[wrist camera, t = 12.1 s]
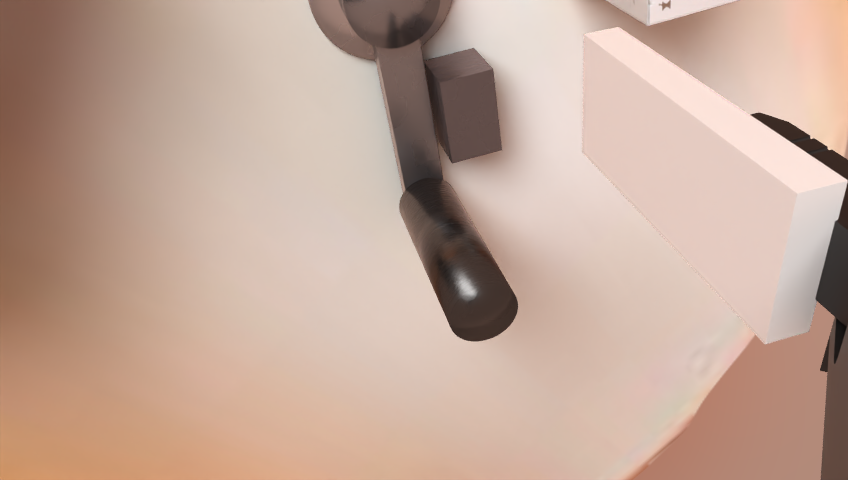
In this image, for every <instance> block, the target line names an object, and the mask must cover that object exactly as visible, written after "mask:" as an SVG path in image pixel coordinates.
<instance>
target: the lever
mask: <svg viewBox="0 0 848 480" xmlns="http://www.w3.org/2000/svg"><path fill="white" fill-rule="evenodd" d="M338 1H339V4H340V7H341V9H342V11H343V13H344V15H345V17H346V19H347V20H348V22H349V24H350V26H351V27H352V29H353V30H354V31H355V33H356V34H357V35H358V36H359V37H360V38H361V39H363V40H364V41H365V42H367V43H369V44H371V45H373V50H374V55H375V60H376V65H377V70H378V74H379V79H380V84H381V89H382V94H383V99H384V103H385V108H386V113H387V118H388V123H389V128H390V132H391V137H392V142H393V147H394V152H395V157H396V161H397V166H398V171H399V176H400V181H401V186H402V190H403V195H402V197H401V200H400V204H399V209H400V213H401V216H402V218H403V220H404V223H405V225H406V227H407V230H408V232H409V234H410V236H411V239H412V241H413V243H414V245H415V248H416V250H417V252H418V254H419V257H420V259H421V261H422V263H423V266H424V268H425V270H426V273H427V275H428V277H429V279H430V282H431V284H432V286H433V288H434V291H435V293H436V295H437V297H438V300H439V302H440V304H441V307H442V309H443V311H444V313H445V316H446V318H447V320H448V322H449V325H450V327H451V329H452V331H453V332H454V333H455V334H456V335H457V336H458V337H460V338H462V339H464V340H467V341H483V340H487V339H490V338H493V337H495V336H497V335H499V334H500V333H502V332H503V331H504V330H506V329H507V328H508V327H509V326H510V324H511V323H512V322H513V320H514V318H515V316H516V314H517V310H518V302H517V298H516V296H515V294H514V293H513V291H512V289H511V288H510V286H509V284H508V282H507V281H506V279H505V277H504V276H503V274H502V272H501V270H500V269H499V267H498V265H497V264H496V262H495V260H494V258H493V257H492V255H491V253H490V252H489V250H488V248H487V246H486V245H485V243H484V241H483V239H482V238H481V236H480V234H479V233H478V231H477V229H476V227H475V226H474V224H473V222H472V221H471V219H470V217H469V215H468V214H467V212H466V210H465V209H464V207H463V205H462V203H461V202H460V200H459V198H458V197H457V195H456V193H455V191H454V190H453V188H452V187H451V185H450V184H449V183H447V182H446V181H444V180H443V176H442V170H441V164H440V158H439V152H438V146H437V140H436V138H437V139H438V141H439V143H440V144H441V146H442V147H443V149H444V151H445V152H446V154H447V156H448V157H449V159H450V160H451V162H452V163H455V162H459V161H463V160H466V159H470V158H474V157H477V156H481V155H485V154H488V153H492V152H496V151H499V150H502V147H501V138H500V129H499V120H498V111H497V101H496V92H495V83H494V74H493V69H492V67H491V66H490V65H489V64H488V63H487V62H486V61H485V60H484V59H483V58H482V57H481V55H480V54H479V53H478V52H477V51H476V50H475V49H474V48H472V49H468V50H464V51H460V52H456V53H452V54H448V55H444V56H441V57H437V58H433V59H429V60H425V61H424V62H423V56H422V50H421V44H420V38H421V37H422V36H423V35H424V34H425V33H426V32H427V31H428V30H429V28H430V27H431V26H432V24H433V22H434V21H435V19H436V16H437V14H438V10H439V6H440V0H338ZM424 65H425V68H424ZM425 71H426V74H425ZM426 77H427V80H426ZM427 83H428V86H427ZM428 89H429V92H428ZM429 95H430V98H429ZM430 101H431V104H430ZM431 107H432V110H431ZM432 113H433V116H432ZM433 119H434V122H433ZM434 126H435V128H434ZM435 132H436V134H435Z"/></svg>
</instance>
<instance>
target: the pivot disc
mask: <svg viewBox="0 0 848 480" xmlns="http://www.w3.org/2000/svg"><path fill="white" fill-rule="evenodd" d="M308 1H309V5H310V8H311V11H312V13H313V16H314V18H315V20H316V22H317V24H318V25H319V27H320V29H321V30H322V31H323V33H324V34H325V35H326V37H327V38H328V39H329V40H330V41H332V42H333V43H334V44H335V45H336V46H338V47H339V48H340V49H342V50H344V51H346V52H347V53H349V54H352V55H354V56H357V57H361V58H365V59H372V60H375V55H374V50H373V45H371V44H369V43H367V42H365V41H364V40H363V39H361V38H360V37H359V36H358V35H357V34H356V33H355V31H354V30H353V29H352V27H351V26H350V24H349V22H348V20H347V19H346V17H345V15H344V13H343V11H342V9H341V7H340V4H339V1H338V0H308ZM451 3H452V0H440V6H439V10H438V14H437V16H436V19H435V21H434V22H433V24H432V26H431V27H430V28H429V30H428V31H427V32H426V33H425V34H424V35H423V36H422V37H421V38H420V44H421V46H422V45H423V44H424V43H426V42H427V41H428V40H429V39H430V38H431V37H432V36H433V35H434V34H435V33H436V31H437V30H438V29H439V28H440V26H441V25H442V23H443V21H444V20H445V18H446V16H447V14H448V11H449V9H450V6H451Z"/></svg>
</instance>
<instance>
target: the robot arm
mask: <svg viewBox="0 0 848 480" xmlns="http://www.w3.org/2000/svg"><path fill="white" fill-rule="evenodd" d="M582 153H583V154H584V155H585V156H586V157H587V158H588V159H589V160H590V161H591V162H592V163H593V164H594V165H595V166H596V167H597V168H598V169H599V170H600V171H601V173H602V174H603V175H604V176H605V177H606V178H607V179H608V180H609V181H610V182H611V183H612V184H613V185H614V186H615V187H616V188H617V189H618V190H619V191H620V193H621V194H622V195H623V196H624V197H625V198H626V199H627V200H628V201H629V202H630V203H631V204H632V205H633V206H634V207H635V208H636V209H637V210H638V211H639V213H640V214H641V215H642V216H643V217H644V218H645V219H646V220H647V221H648V222H649V223H650V224H651V225H652V226H653V227H654V228H655V229H656V230H657V231H658V232H659V234H660V235H661V236H662V237H663V238H664V239H665V240H666V241H667V242H668V243H669V244H670V245H671V246H672V247H673V248H674V249H675V250H676V251H677V252H678V254H679V255H680V256H681V257H682V258H683V259H684V260H685V261H686V262H687V263H688V264H689V265H690V266H691V267H692V268H693V269H694V270H695V271H696V272H697V273H698V275H699V276H700V277H701V278H702V279H703V280H704V281H705V282H706V283H707V284H708V285H709V286H710V287H711V288H712V289H713V290H714V291H715V292H716V293H717V295H718V296H719V297H720V298H721V299H722V300H723V301H724V302H725V303H726V304H727V305H728V306H729V307H730V308H731V309H732V310H733V311H734V312H735V313H736V314H737V316H738V317H739V318H740V319H741V320H742V321H743V322H744V323H745V324H746V325H747V326H748V327H749V328H750V329H751V330H752V331H753V332H754V333H755V334H756V336H758V337H759V339H760V340H761V341H762V342H763V343H764V344H768V343H772V342H775V341H779V340H782V339H786V338H789V337H793V336H796V335H800V334H803V333H807V332H809V330H810V326H811V322H812V319H813V314H814V311H815V307H816V303H817V301H818V302H819V303H820V304H821V305H822V306H823V307H825V308H826V309H827V310H828V311H829V312H830V313H831V314H833V315H834V316H835V319H834V322H833V326H832V329H831V333H830V336H829V340H828V344H827V347H826V351H825V354H824V358H823V362H822V365H821V368H820V370H821V371H825V372H828V373H827V374H828V375H827V391H826V406H825V421H824V436H823V452H822V468H821V480H848V160H847V159H846V158H844V157H843V156H841V155H839V154H838V153H836V152H835V151H833V150H828V149H827V146H825V145H824V144H822V143H821V142H819V141H818V140H816V139H810V135H808V134H807V133H805V132H803V131H802V130H800V129H799V128H797V127H796V126H794V125H792V124H791V123H789V122H787V121H784V120H781V119H778V118H775V117H772V116H769V115H765V114H762V113H755V114H751V115H749V114H748V113H746V112H745V111H743V110H742V109H741V108H739V107H738V106H736V105H735V104H733V103H732V102H730V101H729V100H727V99H726V98H724V97H723V96H721V95H720V94H718V93H717V92H715V91H714V90H712V89H711V88H709V87H708V86H706V85H705V84H703V83H702V82H700V81H699V80H697V79H696V78H694V77H693V76H691V75H690V74H688V73H687V72H685V71H684V70H682V69H681V68H679V67H678V66H676V65H675V64H673V63H672V62H670V61H669V60H667V59H666V58H664V57H663V56H661V55H660V54H658V53H657V52H655V51H654V50H652V49H651V48H649V47H648V46H646V45H645V44H643V43H642V42H640V41H639V40H637V39H636V38H634V37H633V36H631V35H630V34H628V33H627V32H625V31H624V30H622V29H621V28H619V27H615V28H610V29H606V30H601V31H596V32H591V33H587V34H584V54H583V129H582Z"/></svg>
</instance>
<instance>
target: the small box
mask: <svg viewBox="0 0 848 480" xmlns="http://www.w3.org/2000/svg"><path fill="white" fill-rule="evenodd" d="M605 1H607V2H609V3H610V4H612V5H614V6H615V7H617V8H618V9H620V10H621V11H623V12H625V13H626V14H628V15H630V16H631V17H633V18H635V19H636V20H638V21H640V22H641V23H643V24H644V25H646V26H651V25H654V24H658V23H661V22H665V21H668V20H672V19H675V18H679V17H683V16H686V15H690V14H693V13H697V12H700V11H704V10H707V9H711V8H714V7H718V6H721V5H725V4H729V3H732V2H735V1H739V0H605Z"/></svg>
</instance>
